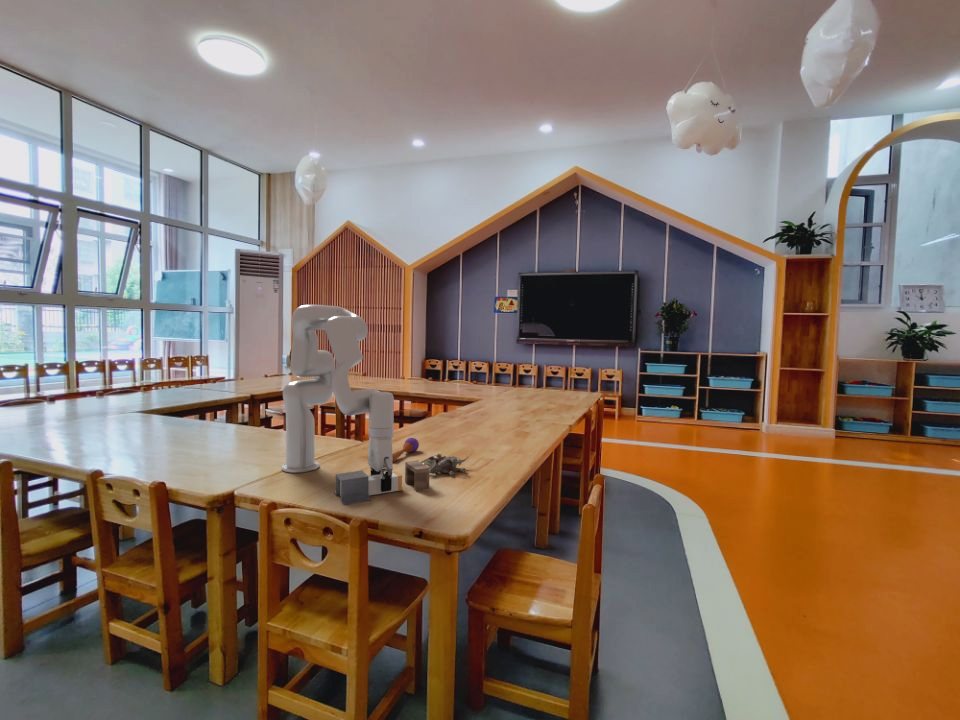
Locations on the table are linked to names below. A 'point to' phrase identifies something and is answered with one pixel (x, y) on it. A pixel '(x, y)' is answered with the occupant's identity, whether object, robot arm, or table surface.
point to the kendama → (406, 448)
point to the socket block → (417, 475)
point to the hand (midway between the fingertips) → (380, 486)
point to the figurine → (443, 464)
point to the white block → (375, 484)
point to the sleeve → (352, 487)
